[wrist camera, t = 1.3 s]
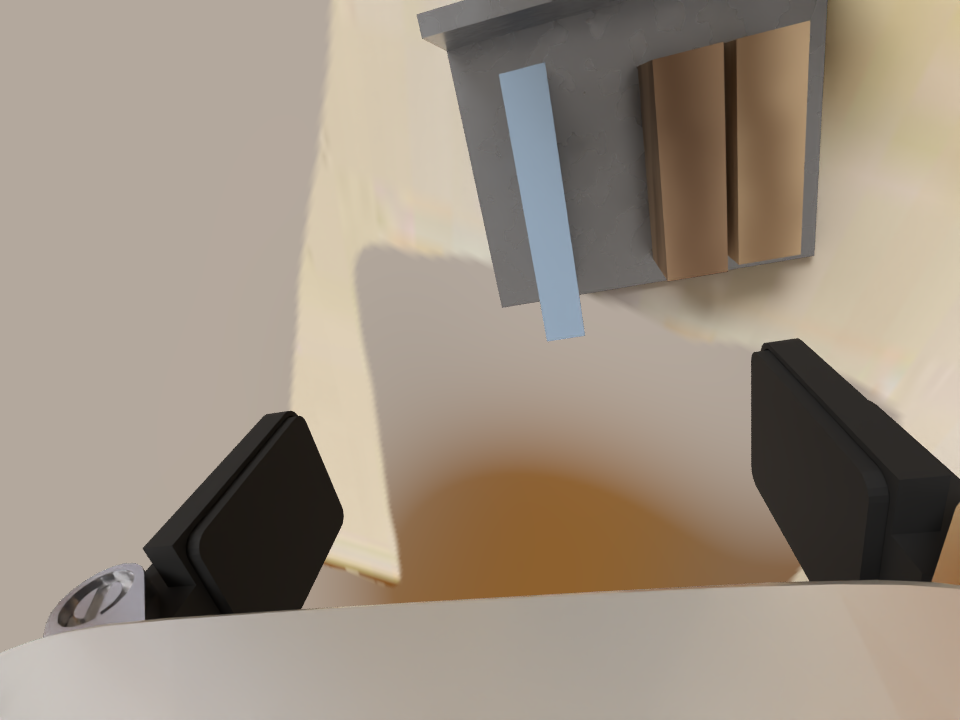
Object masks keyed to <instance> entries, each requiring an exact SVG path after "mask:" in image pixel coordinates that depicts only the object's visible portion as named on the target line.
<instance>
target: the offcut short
mask: <svg viewBox="0 0 960 720" xmlns="http://www.w3.org/2000/svg"><path fill="white" fill-rule="evenodd" d="M809 42H810V21H806V22H802V23H798V24H794V25H790V26H786V27H782V28H778V29H774V30H770V31H766V32H762V33H758V34H754V35H750V36H746V37H742V38H739V39H735V40H732V41H729V42H727V43H724V89H725V141H726V193H727V245H728V256H729V257H730V258H731V259H732V260H734V261H735V262H736V263H737V264H738V265H741V264H747V263H753V262H759V261H765V260H771V259H777V258H783V257H789V256H795V255H801V236H802V211H803V187H804V163H805V139H806V114H807V90H808V66H809Z"/></svg>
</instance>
